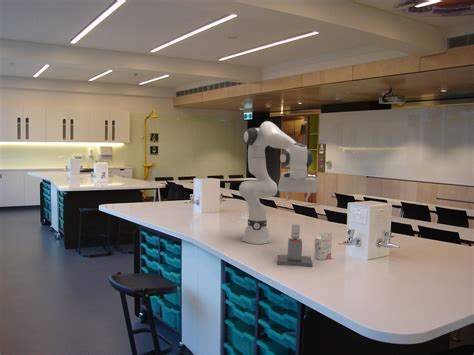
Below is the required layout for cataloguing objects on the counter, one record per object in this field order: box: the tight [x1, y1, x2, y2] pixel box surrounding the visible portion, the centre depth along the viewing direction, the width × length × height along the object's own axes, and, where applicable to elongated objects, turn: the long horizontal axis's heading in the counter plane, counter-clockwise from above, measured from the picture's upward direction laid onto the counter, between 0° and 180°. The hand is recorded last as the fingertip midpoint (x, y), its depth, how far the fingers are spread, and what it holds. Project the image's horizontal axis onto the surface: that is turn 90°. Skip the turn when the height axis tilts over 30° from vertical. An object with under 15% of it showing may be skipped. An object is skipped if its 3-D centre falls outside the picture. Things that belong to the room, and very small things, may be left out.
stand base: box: [276, 237, 313, 268], centre depth 225 cm, size 13×18×13 cm
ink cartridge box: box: [313, 231, 333, 261], centre depth 235 cm, size 9×5×15 cm, turn 123°
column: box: [290, 223, 301, 241], centre depth 225 cm, size 4×4×18 cm
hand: (297, 200), depth 223 cm, fingers open, 8 cm apart
